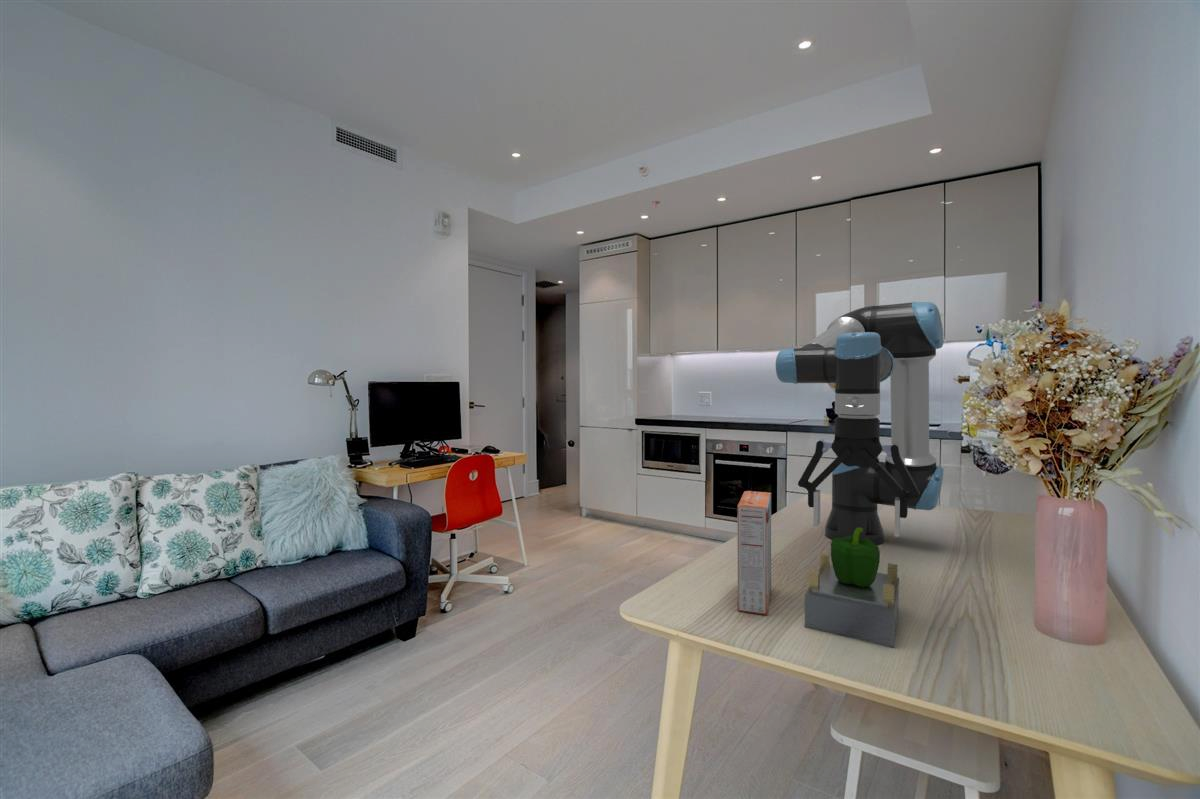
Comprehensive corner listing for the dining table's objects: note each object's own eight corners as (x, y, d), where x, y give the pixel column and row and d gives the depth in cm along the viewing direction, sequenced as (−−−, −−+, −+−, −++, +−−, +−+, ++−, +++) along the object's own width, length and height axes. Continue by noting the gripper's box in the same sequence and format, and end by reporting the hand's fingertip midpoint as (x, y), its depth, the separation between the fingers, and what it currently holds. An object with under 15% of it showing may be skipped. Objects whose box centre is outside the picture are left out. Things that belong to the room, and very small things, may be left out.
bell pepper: (857, 594, 93) (858, 538, 93) (821, 578, 101) (821, 526, 100) (890, 586, 96) (891, 532, 96) (853, 572, 104) (853, 521, 104)
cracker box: (742, 585, 114) (743, 489, 114) (771, 589, 112) (773, 491, 111) (734, 611, 101) (736, 503, 100) (767, 616, 99) (769, 506, 98)
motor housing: (824, 588, 113) (824, 545, 112) (899, 602, 105) (900, 557, 105) (804, 626, 95) (805, 576, 95) (893, 647, 87) (894, 592, 87)
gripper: (782, 415, 101) (782, 524, 102) (937, 420, 88) (934, 545, 89) (791, 413, 107) (790, 515, 108) (936, 417, 94) (934, 534, 95)
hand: (855, 529), depth 99 cm, fingers open, 13 cm apart
